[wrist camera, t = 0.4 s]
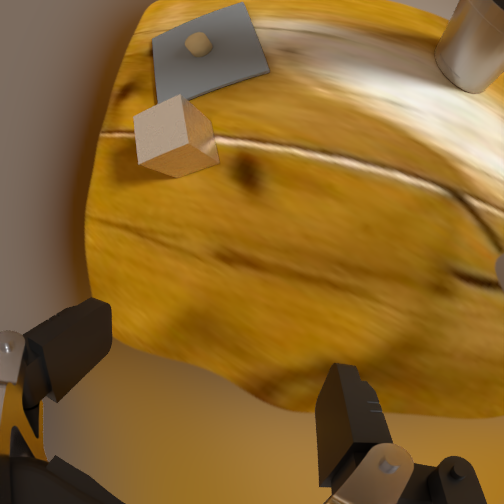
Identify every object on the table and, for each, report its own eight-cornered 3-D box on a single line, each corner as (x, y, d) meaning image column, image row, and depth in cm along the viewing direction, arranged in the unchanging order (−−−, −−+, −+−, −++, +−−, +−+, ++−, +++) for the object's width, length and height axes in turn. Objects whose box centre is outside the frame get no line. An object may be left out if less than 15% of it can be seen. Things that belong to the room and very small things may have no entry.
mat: (244, 4, 31) (238, -8, 28) (270, 72, 31) (265, 59, 28) (153, 40, 35) (144, 31, 32) (160, 112, 35) (149, 104, 32)
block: (210, 121, 33) (180, 93, 25) (219, 163, 33) (188, 143, 25) (170, 137, 35) (133, 116, 26) (177, 178, 35) (138, 164, 26)
